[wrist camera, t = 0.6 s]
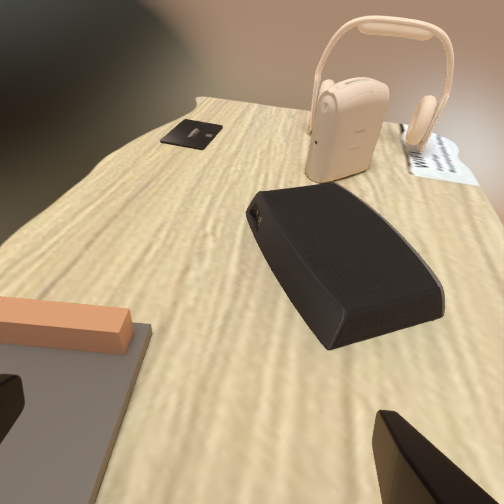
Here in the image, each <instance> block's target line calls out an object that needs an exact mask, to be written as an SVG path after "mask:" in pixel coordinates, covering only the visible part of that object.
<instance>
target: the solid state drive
mask: <svg viewBox="0 0 504 504" xmlns="http://www.w3.org/2000/svg"><path fill="white" fill-rule="evenodd" d="M222 128H223V126H222V125H217V124H211V123H205V122H200V121H194V120H188V119H184V120H183V121H182V122H181V123H179V124H178V125H177V126H176V127H175V128H174V129H173V130H171V131H170V132H169V133H168V134H167V135H166V136H164V137H163V138H162V139H161V140H160V142H161V143H165V144H171V145H177V146H182V147H188V148H193V149H198V150H204V149H205V148H206V147H207V145H208V144H209V143H210V142H211V141H212V140H213V138H214V137H215V136H216V135H217V134H218V133H219V132H220V130H221V129H222Z"/></svg>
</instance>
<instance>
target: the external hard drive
mask: <svg viewBox="0 0 504 504" xmlns="http://www.w3.org/2000/svg"><path fill="white" fill-rule="evenodd" d="M246 216H247V219H248V222H249V225H250V227H251V229H252V232H253V234H254V237H255V239H256V241H257V243H258V245H259V247H260V249H261V251H262V253H263V255H264V257H265V258H266V260H267V262H268V264H269V266H270V267H271V269H272V271H273V273H274V275H275V276H276V278H277V279H278V281H279V283H280V284H281V286H282V288H283V289H284V291H285V292H286V294H287V295H288V297H289V298H290V300H291V302H292V303H293V304H294V306H295V307H296V309H297V310H298V312H299V313H300V315H301V316H302V318H303V319H304V320H305V322H306V323H307V324H308V326H309V327H310V329H311V330H312V331H313V333H314V334H315V335H316V337H317V338H318V339H319V340H320V342H321V343H322V344H323V345H324V346H325V348H326V349H327V350H330V349H334V348H338V347H341V346H345V345H348V344H352V343H355V342H358V341H362V340H365V339H369V338H372V337H375V336H379V335H382V334H386V333H389V332H393V331H396V330H399V329H402V328H406V327H409V326H413V325H416V324H420V323H423V322H426V321H430V320H435V319H437V318H441V317H442V316H444V311H445V295H444V289H443V287H442V285H441V283H440V281H439V280H438V278H437V277H436V275H435V274H434V273H433V271H432V270H431V269H430V267H429V266H428V265H427V264H426V262H425V261H424V260H423V259H422V258H421V256H420V255H419V254H418V253H417V252H416V250H415V249H414V248H413V247H412V246H411V245H410V244H409V243H408V242H407V241H406V239H405V238H404V237H403V236H402V235H401V234H400V233H399V232H398V231H397V230H396V229H395V228H394V227H393V226H392V225H391V224H390V223H389V222H388V221H386V220H385V219H384V218H383V217H382V216H381V215H380V214H379V213H378V212H376V211H375V210H374V209H373V208H372V207H370V206H369V205H368V204H367V203H365V202H364V201H363V200H361V199H360V198H359V197H357V196H356V195H354V194H353V193H352V192H350V191H349V190H347V189H346V188H344V187H342V186H341V185H339V184H338V183H335V182H333V183H325V184H317V185H311V186H303V187H295V188H287V189H279V190H270V191H259V192H258V193H257V194H256V195H255V197H254V198H253V200H252V201H251V203H250V205H249V206H248V208H247V211H246Z"/></svg>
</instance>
